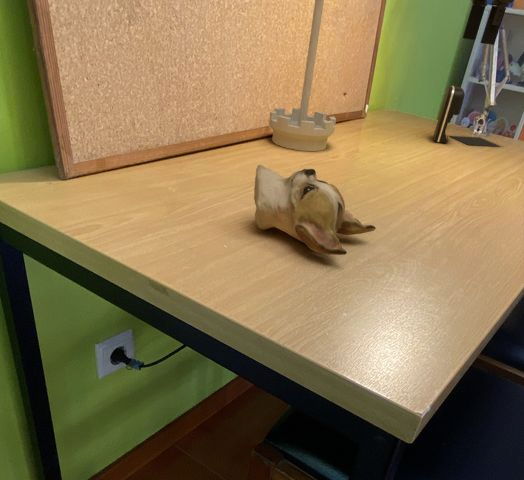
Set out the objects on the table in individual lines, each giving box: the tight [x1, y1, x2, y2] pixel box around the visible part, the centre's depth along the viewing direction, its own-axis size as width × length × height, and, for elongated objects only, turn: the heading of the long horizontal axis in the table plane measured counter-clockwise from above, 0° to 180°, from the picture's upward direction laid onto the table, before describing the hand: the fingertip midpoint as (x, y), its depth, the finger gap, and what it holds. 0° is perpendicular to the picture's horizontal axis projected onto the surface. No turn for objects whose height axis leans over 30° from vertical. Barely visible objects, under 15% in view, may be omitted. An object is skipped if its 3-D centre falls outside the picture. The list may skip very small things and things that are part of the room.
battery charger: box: [433, 85, 466, 144], centre depth 116 cm, size 7×4×11 cm, turn 166°
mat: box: [449, 135, 500, 148], centre depth 123 cm, size 8×9×1 cm
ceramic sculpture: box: [253, 164, 377, 256], centre depth 60 cm, size 11×9×15 cm
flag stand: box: [268, 0, 337, 152], centre depth 93 cm, size 13×13×30 cm
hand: (477, 41), depth 111 cm, fingers open, 13 cm apart
